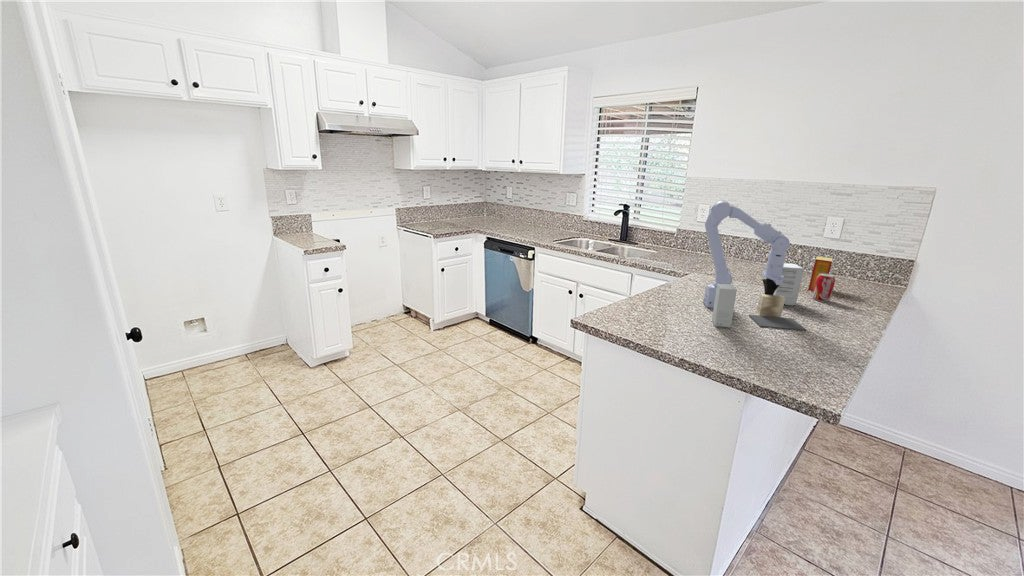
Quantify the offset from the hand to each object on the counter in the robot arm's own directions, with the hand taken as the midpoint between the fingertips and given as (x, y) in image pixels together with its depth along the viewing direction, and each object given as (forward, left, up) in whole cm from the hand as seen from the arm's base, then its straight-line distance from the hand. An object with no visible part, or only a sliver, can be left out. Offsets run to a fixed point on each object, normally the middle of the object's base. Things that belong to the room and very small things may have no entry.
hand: (768, 297), depth 176 cm
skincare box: (-22, -18, -7) cm, 29 cm away
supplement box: (+13, +18, -7) cm, 23 cm away
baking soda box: (+40, +45, -7) cm, 61 cm away
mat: (0, -12, -7) cm, 14 cm away
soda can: (+33, +26, -7) cm, 43 cm away
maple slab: (0, -4, -7) cm, 8 cm away
